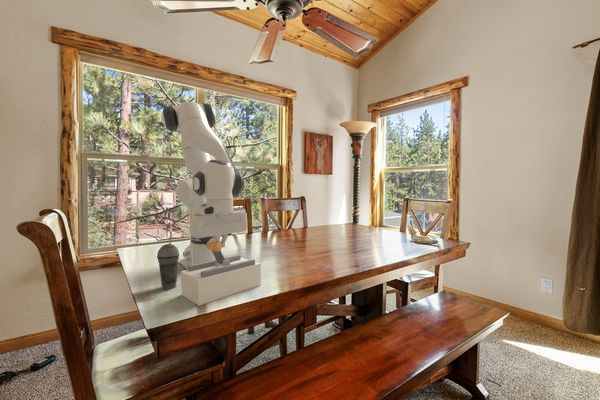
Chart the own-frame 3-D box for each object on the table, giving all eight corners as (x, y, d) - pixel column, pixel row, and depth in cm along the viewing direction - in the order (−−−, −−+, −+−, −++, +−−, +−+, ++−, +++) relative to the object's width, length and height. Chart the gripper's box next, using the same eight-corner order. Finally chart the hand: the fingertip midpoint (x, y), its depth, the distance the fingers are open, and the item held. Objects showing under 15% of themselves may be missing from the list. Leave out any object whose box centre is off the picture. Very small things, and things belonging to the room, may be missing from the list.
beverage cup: (162, 283, 105) (161, 230, 104) (183, 283, 106) (181, 230, 104) (154, 291, 98) (152, 233, 97) (176, 290, 99) (174, 233, 97)
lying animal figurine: (412, 239, 188) (412, 224, 188) (442, 245, 170) (442, 229, 169) (403, 240, 184) (403, 225, 183) (433, 247, 166) (433, 230, 165)
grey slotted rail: (187, 270, 95) (187, 265, 95) (238, 258, 110) (238, 254, 110) (203, 277, 88) (203, 272, 88) (255, 264, 103) (255, 260, 102)
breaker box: (181, 294, 95) (180, 262, 94) (241, 277, 112) (241, 250, 112) (198, 305, 87) (198, 270, 86) (260, 285, 104) (260, 255, 103)
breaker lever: (214, 263, 100) (204, 243, 96) (221, 258, 101) (211, 238, 98) (222, 266, 96) (212, 246, 93) (229, 261, 98) (219, 241, 95)
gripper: (240, 205, 107) (240, 241, 108) (187, 208, 92) (188, 251, 93) (250, 206, 103) (250, 244, 103) (196, 210, 88) (197, 254, 89)
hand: (220, 247), depth 98 cm, fingers closed
